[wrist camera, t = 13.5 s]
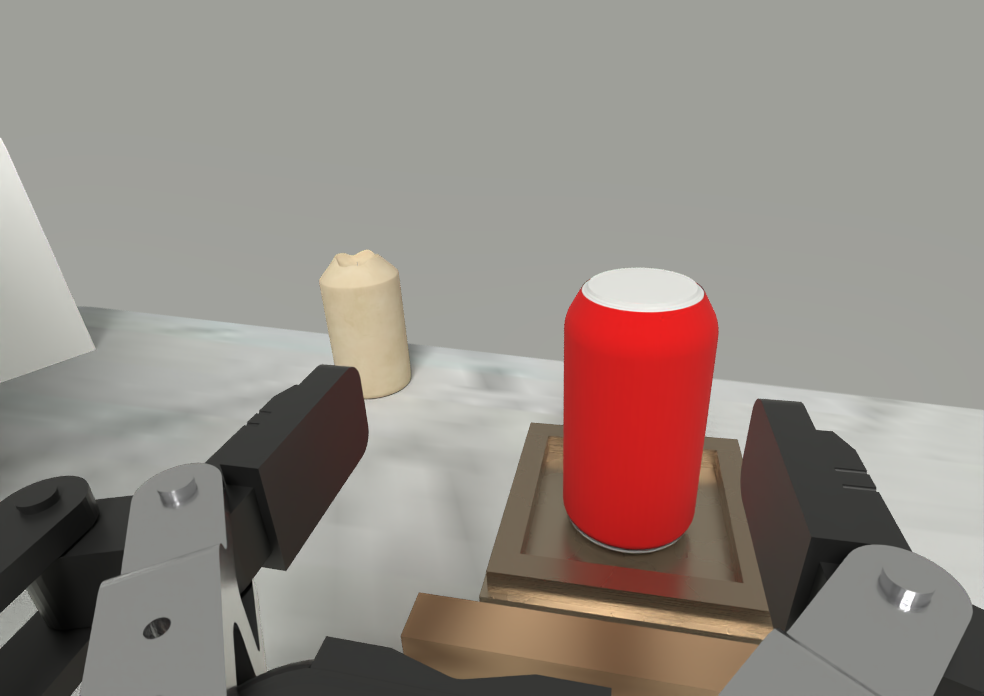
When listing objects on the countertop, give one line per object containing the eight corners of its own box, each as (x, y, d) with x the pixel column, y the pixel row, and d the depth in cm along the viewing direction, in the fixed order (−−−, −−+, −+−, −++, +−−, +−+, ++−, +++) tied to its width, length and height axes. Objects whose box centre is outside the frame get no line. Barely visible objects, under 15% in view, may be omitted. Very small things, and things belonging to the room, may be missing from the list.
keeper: (480, 613, 25) (477, 575, 24) (527, 449, 35) (526, 419, 34) (784, 661, 22) (794, 621, 21) (737, 469, 33) (742, 436, 32)
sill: (408, 680, 22) (400, 636, 21) (425, 635, 24) (418, 592, 23) (807, 757, 19) (821, 709, 18) (793, 698, 21) (805, 651, 20)
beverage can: (551, 553, 26) (551, 308, 21) (573, 470, 32) (577, 258, 27) (693, 578, 25) (730, 319, 20) (691, 486, 30) (719, 264, 25)
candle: (324, 394, 43) (298, 264, 39) (363, 361, 48) (344, 242, 43) (389, 404, 41) (370, 269, 37) (423, 369, 46) (409, 246, 41)
